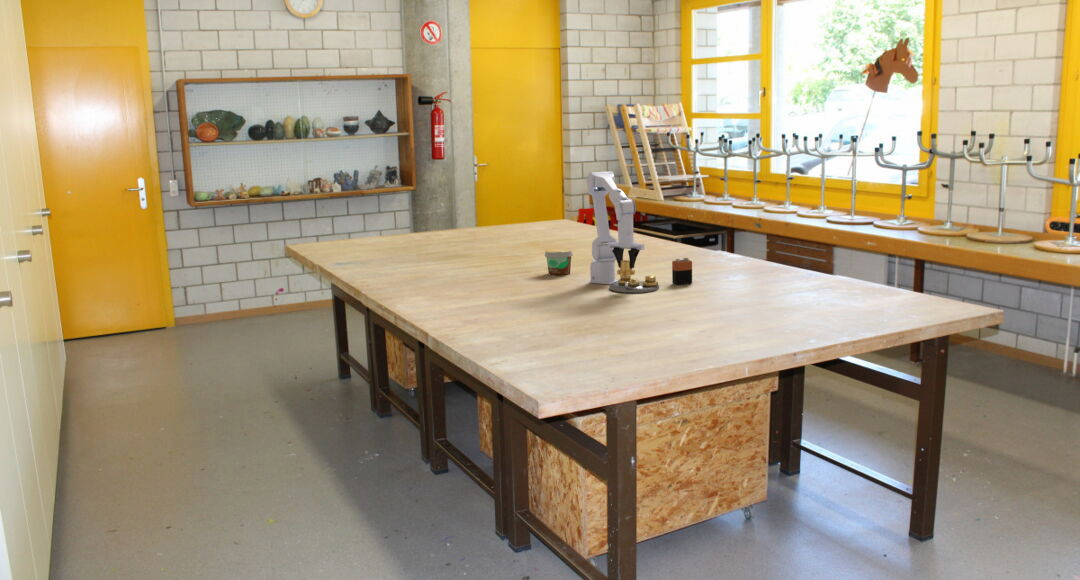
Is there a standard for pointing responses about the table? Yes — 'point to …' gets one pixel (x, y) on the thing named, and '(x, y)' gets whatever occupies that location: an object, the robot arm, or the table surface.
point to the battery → (682, 271)
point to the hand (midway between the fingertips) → (626, 267)
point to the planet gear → (625, 268)
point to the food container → (559, 262)
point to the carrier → (635, 285)
